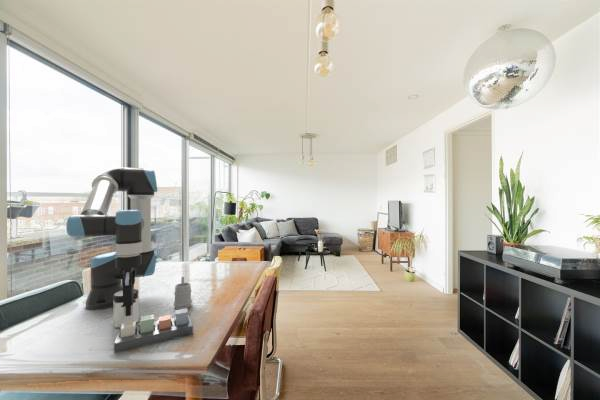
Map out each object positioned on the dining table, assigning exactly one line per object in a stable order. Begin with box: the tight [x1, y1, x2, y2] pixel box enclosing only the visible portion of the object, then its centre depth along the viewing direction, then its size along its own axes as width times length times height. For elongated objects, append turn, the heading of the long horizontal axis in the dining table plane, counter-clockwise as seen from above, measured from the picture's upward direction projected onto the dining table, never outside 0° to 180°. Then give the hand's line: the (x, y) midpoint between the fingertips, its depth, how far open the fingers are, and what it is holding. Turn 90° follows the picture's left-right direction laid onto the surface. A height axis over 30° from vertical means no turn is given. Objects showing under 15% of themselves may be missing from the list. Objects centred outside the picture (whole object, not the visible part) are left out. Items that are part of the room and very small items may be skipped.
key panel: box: [113, 314, 194, 354], centre depth 91 cm, size 11×23×3 cm, turn 119°
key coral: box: [158, 314, 172, 329], centre depth 92 cm, size 4×4×4 cm
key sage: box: [139, 314, 155, 334], centre depth 90 cm, size 4×4×4 cm
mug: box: [173, 276, 193, 310], centre depth 119 cm, size 8×12×12 cm, turn 26°
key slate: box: [174, 308, 189, 326], centre depth 95 cm, size 4×4×4 cm
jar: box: [112, 288, 140, 329], centre depth 101 cm, size 9×8×12 cm
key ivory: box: [120, 322, 137, 338], centre depth 87 cm, size 4×4×4 cm
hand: (128, 323), depth 87 cm, fingers closed
